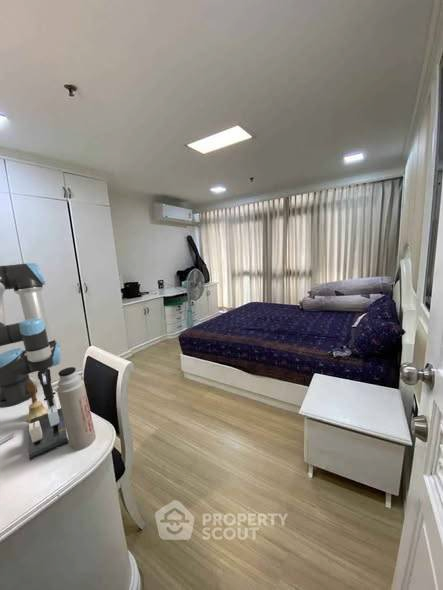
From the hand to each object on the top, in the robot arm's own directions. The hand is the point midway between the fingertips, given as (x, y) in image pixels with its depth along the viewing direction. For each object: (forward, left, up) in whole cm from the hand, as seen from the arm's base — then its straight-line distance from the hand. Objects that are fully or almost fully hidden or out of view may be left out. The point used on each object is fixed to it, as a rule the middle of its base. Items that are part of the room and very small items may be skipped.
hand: (53, 411), depth 100 cm
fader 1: (+11, -6, -3) cm, 13 cm away
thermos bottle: (+21, +7, -4) cm, 23 cm away
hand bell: (-10, -6, -4) cm, 12 cm away
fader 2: (+6, 0, -3) cm, 7 cm away
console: (+7, -3, -4) cm, 9 cm away
